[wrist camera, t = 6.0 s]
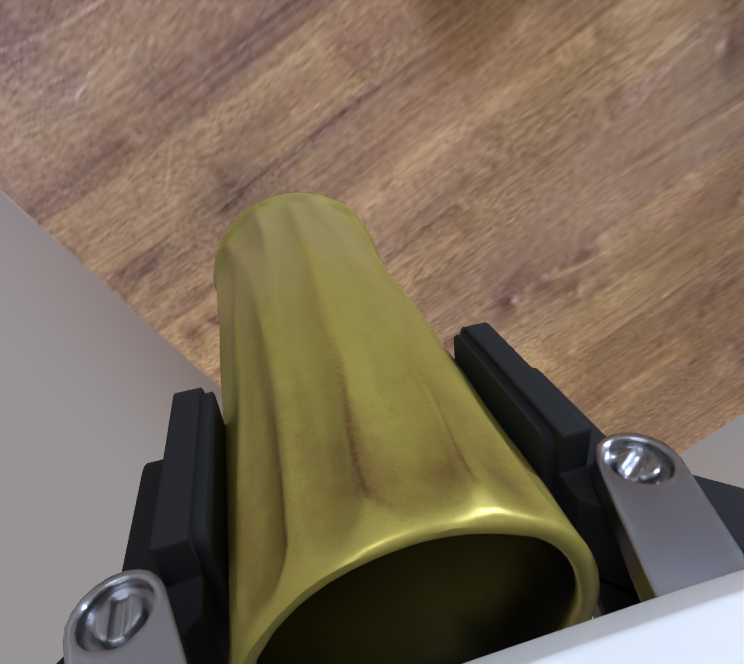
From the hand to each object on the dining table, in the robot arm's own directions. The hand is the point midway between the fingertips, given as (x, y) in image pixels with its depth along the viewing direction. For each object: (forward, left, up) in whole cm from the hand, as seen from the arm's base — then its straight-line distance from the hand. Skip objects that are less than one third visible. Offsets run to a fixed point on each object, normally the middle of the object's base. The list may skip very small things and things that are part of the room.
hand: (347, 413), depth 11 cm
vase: (0, 0, -9) cm, 9 cm away
